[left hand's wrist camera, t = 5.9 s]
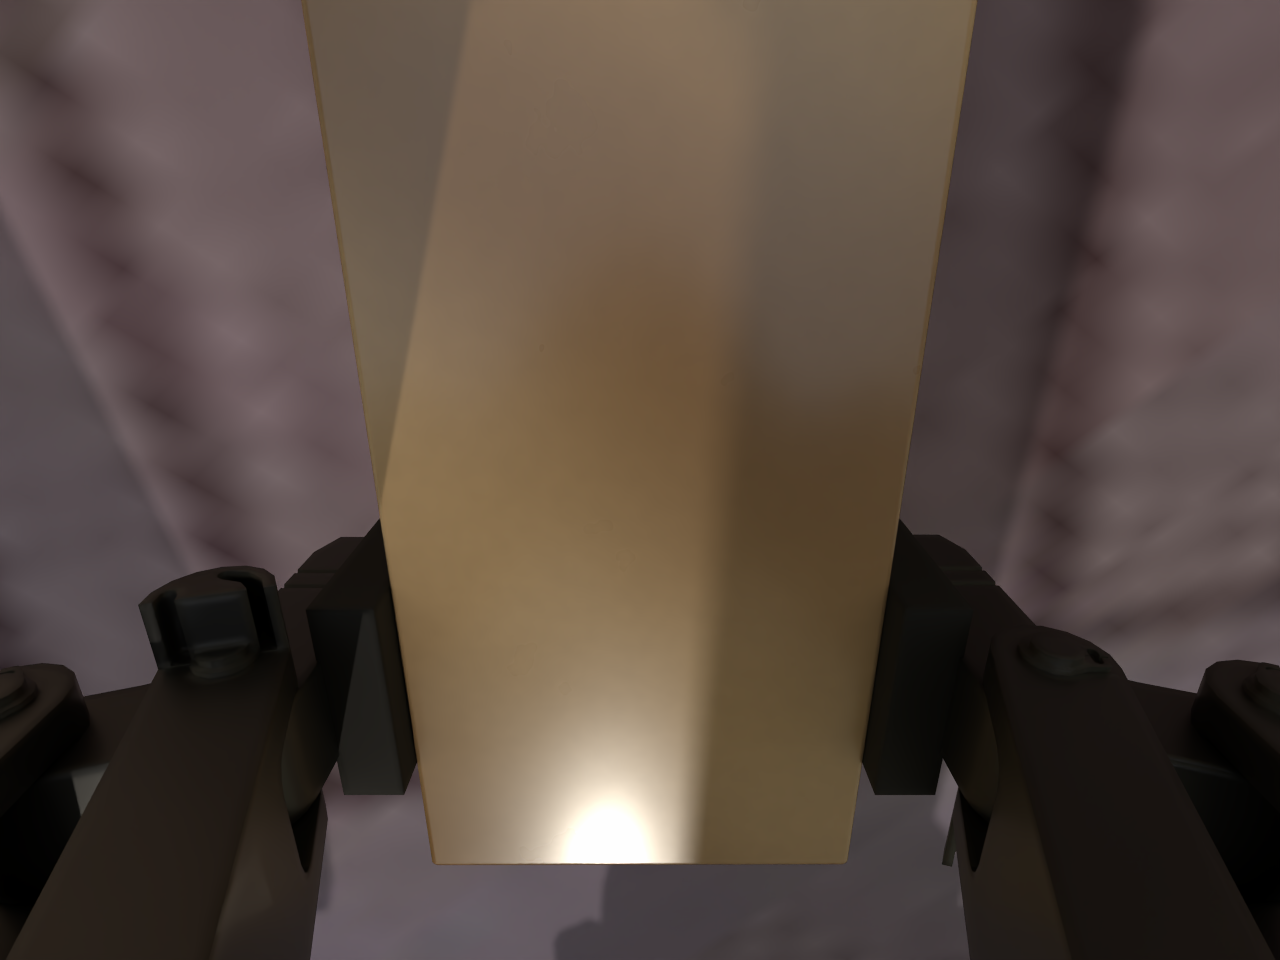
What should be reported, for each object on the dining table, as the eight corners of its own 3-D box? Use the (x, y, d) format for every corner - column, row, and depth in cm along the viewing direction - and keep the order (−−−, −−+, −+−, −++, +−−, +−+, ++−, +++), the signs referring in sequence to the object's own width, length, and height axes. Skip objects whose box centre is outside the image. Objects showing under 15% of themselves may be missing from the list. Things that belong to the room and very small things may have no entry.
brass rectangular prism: (448, -482, 11) (-69, -2360, 3) (827, -482, 11) (1343, -2353, 3) (523, 570, 18) (430, 868, 10) (754, 569, 18) (849, 867, 10)
